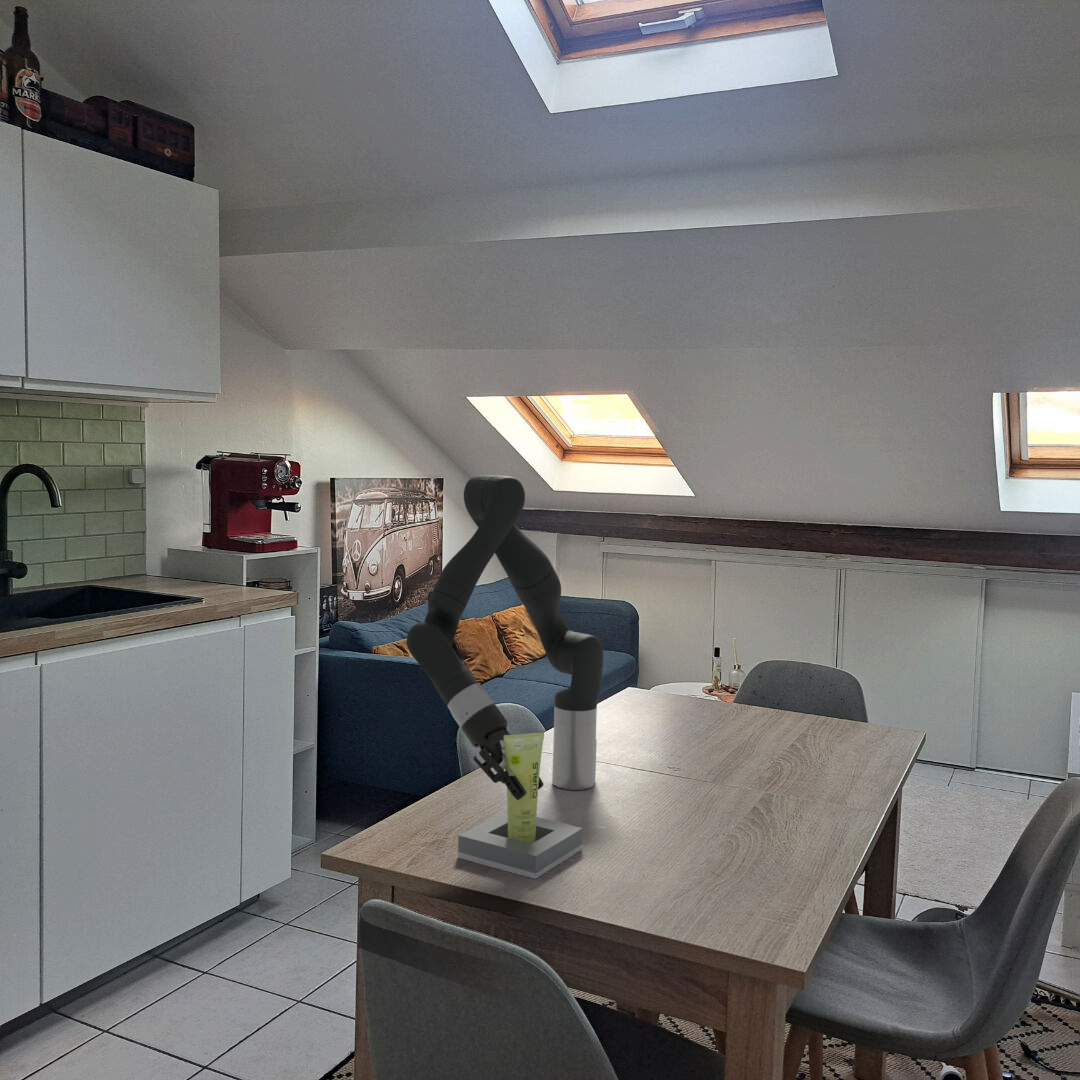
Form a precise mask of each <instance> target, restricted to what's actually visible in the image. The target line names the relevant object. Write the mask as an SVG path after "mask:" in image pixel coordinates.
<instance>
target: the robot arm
mask: <svg viewBox="0 0 1080 1080" xmlns="http://www.w3.org/2000/svg"><path fill="white" fill-rule="evenodd" d="M463 501H464V506H465V509H466V512H467V513H468V515H469V517H470V518H471V520H473V522H474V524H475V526H477V529H476V531H475V533H474V534H473V535H472V536H471V537H470V539H469V540H468V541H467V542H466V543H465V544H464V545H463V546H462V547H461V549H460V550H458V551H457V553H455V555H454V556H453V557H452V558H451V559H449V561H448V562H447V564H446V565H445V566H444V568H443V569H442V571H441V572H440V575H439V577H438V578H437V580H436V582H435V585H434V587H433V589H432V592H431V593H430V595H429V598H428V602H427V613H426V616H425V619H424V621H420V622H417V623H415V624H414V625H412V626H411V628H410V629H409V630H408V633H407V636H406V647H407V649H408V652H409V653H410V654H411V656H412V657H413V658H414V659H415V661H416V662H417V663H418V665H419V666H420V668H422V669H421V670H423V671H424V673H425V674H426V676H428V677H429V679H430V680H431V682H432V683H433V686H434V688H435V689H436V691H437V693H438V695H439V696H440V698H441V699H442V700H443V702H444V704H445V705H446V707H447V708H448V710H449V711H450V714H451V715H452V717H453V719H454V721H455V722H456V723H457V725H458V727H460V729H461V731H462V732H463V733H464V735H465V736H466V738H467V739H468V741H469V742H470V743H471V745H472V746H473V747H474V748H476V749H477V748H479V749H480V751H479V752H477V753H476V754H475V755H474V756H473V761H474V762H475V763H476V764H477V765H478V766H479V768H480V769H481V770H482V771H483V773H485V775H486V776H488V778H489V779H490V780H491V782H493V783H495V784H497V783H499V782H500V783H501V784H504V785H505V786H506V789H507V788H508V789H509V791H510V792H511V794H512V795H513V796H514V797H515V798H516V799H517V800H519V799H521V798H522V797H523V796H524V795H526V791H525V789H524V788H523V786H522V785H521V783H520V782H519V780H518V779H517V778H516V776H513V771H512V770H511V769H510V767H509V766H508V761H507V759H506V756H505V745H504V735H512V734H511V733H510V732H508V729H507V727H508V724H509V723H508V720H507V719H506V717H505V716H504V715H503V713H502V712H501V711H500V709H499V707H498V706H497V705H496V703H495V702H494V701H493V699H492V697H491V696H490V695H489V693H488V692H487V691H486V690H485V689H484V688H483V687H482V686H481V684H480V683H479V681H477V679H476V677H475V676H474V674H473V673H472V672H471V670H470V669H469V668H468V667H467V666H466V664H464V661H462V659H460V657H459V656H458V654H457V653H456V651H455V649H454V648H453V643H454V640H455V637H456V633H457V631H458V627H459V624H460V621H461V617H462V615H463V613H464V611H465V609H466V607H467V605H468V603H469V600H470V598H471V596H472V595H473V593H474V590H475V588H476V586H477V583H478V581H479V580H480V578H481V576H482V574H483V572H484V571H485V569H486V567H487V565H488V564H489V563H490V561H491V559H492V557H493V556H494V555H495V556H496V558H497V561H499V563H500V565H501V567H502V569H503V570H504V572H505V573H506V576H507V578H508V581H510V583H511V586H512V587H513V589H514V591H515V593H516V595H517V597H518V598H519V600H520V602H521V603H522V605H523V607H524V609H525V611H526V612H527V615H528V617H529V618H530V620H531V622H532V624H533V626H534V628H535V630H536V632H537V636H538V637H539V640H540V643H541V646H542V647H543V650H544V652H545V656H546V658H547V659H548V662H549V663H550V665H551V667H553V668H554V669H555V670H556V671H558V672H559V673H563V674H566V675H571V678H570V679H571V681H570V686H569V687H568V688H564V689H560V690H558V691H557V692H555V696H554V709H553V710H554V712H553V713H554V714H553V715H554V716H553V717H554V719H553V742H552V743H553V744H552V745H553V747H552V749H553V750H552V773H551V774H552V775H551V776H552V777H551V780H552V781H551V783H552V785H553V786H554V785H555V786H554V787H556V786H557V788H559V789H562V788H563V790H570V791H578V790H579V791H581V790H588V789H590V788H593V787H594V786H595V782H596V771H597V745H598V744H597V715H598V714H597V712H598V710H597V709H598V707H597V706H598V700H599V696H600V694H601V689H602V679H603V678H602V677H603V666H604V648H603V645H602V642H601V641H600V639H599V638H598V637H597V636H596V635H593V634H592V635H591V634H588V633H583V632H579V631H578V632H577V631H576V632H575V631H573V630H572V629H570V627H569V626H568V625H567V623H566V622H565V620H564V618H563V616H562V614H561V611H560V604H561V600H562V599H561V597H562V584H561V580H560V578H559V576H558V574H557V571H556V570H555V568H554V566H553V565H552V562H551V561H550V559H549V557H548V556H547V554H546V553H544V551H543V550H542V549H541V548H540V547H539V546H538V545H537V544H536V543H535V542H534V541H533V540H532V539H530V538H529V537H528V536H527V535H526V534H525V533H524V532H522V531H521V530H520V529H519V527H518V526H517V525H516V524H515V523H516V522H517V520H518V518H519V517H520V515H521V514H522V512H523V509H524V505H525V501H526V492H525V489H524V486H523V485H522V482H521V481H520V480H518V479H517V478H515V477H514V476H508V475H498V474H480V475H479V474H478V475H475V476H473V477H471V478H470V479H469V480H468V481H467V482H466V484H465V486H464V489H463ZM492 769H493V770H492ZM543 787H544V781H543V779H542V778H541V777H540V776H539V785H538V791H539V790H540V789H541V788H543Z"/></svg>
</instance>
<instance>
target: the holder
mask: <svg viewBox="0 0 1080 1080" xmlns="http://www.w3.org/2000/svg"><path fill="white" fill-rule="evenodd" d="M583 832H584V829H583V827H581V826H576V825H572V824H568V823H563V822H560V821H555V820H551V819H547V818H543V817H539V816H536V836H535V841H534V842H533V843H531V844H529V843H525V842H521V841H518V840H514V839H510V838H508V810H506V811H503V812H502V813H500V814H498V815H497V816H495V817H492V818H490V819H488V820H486V821H484V822H481V824H479V825H476V826H474V827H472V828H470V829H468V830H466V831H464V832H463V833H460V834H458V841H457V842H458V843H457V847H458V848H457V858H458V859H462V860H465V861H469V862H473V863H476V864H479V865H483V866H487V867H489V868H493V869H498V870H501V871H504V872H507V873H511V872H512V874H515V873H516V875H519V876H522V875H523V876H522V877H526V876H527V878H529V877H530V879H533V878H534V880H537V879H538V878H540V877H542V876H543V875H545V874H546V873H548V872H549V871H551V870H552V868H553V869H554V868H555V866H556V867H557V866H559V865H560V864H562V863H564V862H565V861H566V860H568V859H570V858H572V857H573V856H574V854H575V855H576V854H578V853H579V852H581V851H582V850H583V838H584V837H583V836H584V833H583ZM577 852H578V853H577ZM569 857H570V858H569ZM563 861H564V862H563ZM558 864H559V865H558ZM550 869H551V870H550ZM547 871H548V872H547ZM544 873H545V874H544ZM542 874H543V875H542ZM541 875H542V876H541ZM539 876H540V877H539ZM536 878H537V879H536Z"/></svg>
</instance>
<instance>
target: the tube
mask: <svg viewBox="0 0 1080 1080" xmlns="http://www.w3.org/2000/svg"><path fill="white" fill-rule="evenodd" d="M544 739H545V732H544V731H543V732H533V733H531V732H530V733H520V734H511V735H504V745H505V756H506V759H507V761H508V766H509V767H510V769H511V770H512V771H513V776H516V778H517V779H518V780H519V782H520V783H521V785H522V786H523V788H524V789H525V791H526V795H524V796H523V797H522V798H521V799H519V800H517V799H516V798H515V797H514V796H513V795H512V794H511V792H510V791H509V789H508V788H507V787H506V791H507V792H506V795H507V800H506V801H507V811H508V838H510V839H514V840H518V841H521V842H525V843H529V844H531V843H533V842H534V841H535V836H536V817H538V816H537V813H538V812H537V811H538V796H539V790H538V785H539V777H540V772H541V771H540V770H541V761H542V751H543V745H544Z"/></svg>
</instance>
